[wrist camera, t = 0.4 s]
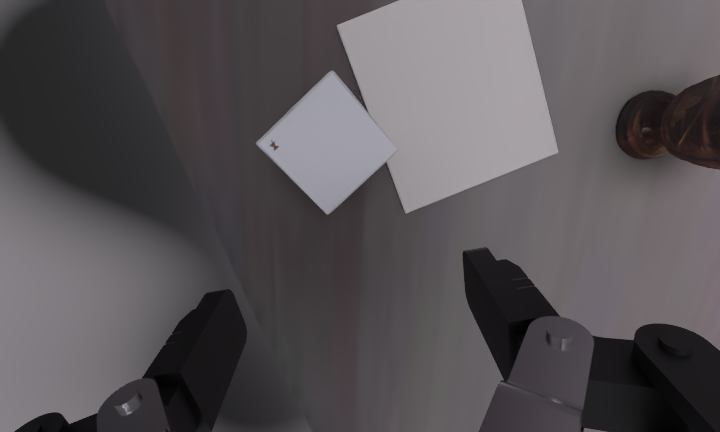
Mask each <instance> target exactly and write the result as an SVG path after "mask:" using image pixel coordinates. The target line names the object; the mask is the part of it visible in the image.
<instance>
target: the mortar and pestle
mask: <svg viewBox="0 0 720 432" xmlns="http://www.w3.org/2000/svg"><path fill="white" fill-rule="evenodd" d="M616 133H617V141H618V144H619V145H620V147H621V148H622V149H623V150H624V151H625V152H626V153H627V154H629V155H630V156H632V157H635V158H638V159H652V158H657V157H660V156H662V155H664V154H666V153H669V152H670V153H671V154H672V155H674V156H675V157H677V158H679V159H681V160H685V161H688V162H690V163H692V164H696V165H699V166H703V167H707V168H713V169H720V75H718V76H715V77H712V78H709V79H706V80H704V81H702V82H700V83H698V84H695V85H692V86H690V87H688V88H686V89H685V90H683V91H682V92H681V93H680V94H679V95H677V96H675V95H673V94H671V93H666V92H663V91H653V90H652V91H646V92H643V93H641V94H639V95H637V96H636V97H634V98H632V99H631V100H630V101H629V103H628V104H627V106H626V107H625V108H624V110H623V112H622V113H621V116H620V119H619V121H618V124H617V131H616Z"/></svg>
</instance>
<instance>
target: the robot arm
mask: <svg viewBox="0 0 720 432" xmlns="http://www.w3.org/2000/svg"><path fill="white" fill-rule="evenodd" d="M463 268H464V281H465V292H466V298H467V301H468V305H469V307H470V310H471V312H472V314H473V316H474V318H475V320H476V322H477V324H478V326H479V328H480V331H481V333H482V335H483V337H484V339H485V341H486V343H487V345H488V347H489V349H490V351H491V354H492V356H493V358H494V360H495V362H496V364H497V366H498V368H499V370H500V372H501V374H502V377H503V379H504V380H501V381H500V383H499V384H498V386H497V388H496V390H495V393H494V395H493V398H492V400H491V403H490V405H489V408H488V410H487V413H486V415H485V418H484V420H483V423H482V425H481V427H480V430H479V432H584V428H589V429H595V430H601V431H607V432H720V351H719V350H718V349H717V348H716V347H715V346H713V345H712V344H711V343H710V342H709V341H707V340H706V339H705V338H703V337H701V336H700V335H698V334H696V333H694V332H692V331H689V330H687V329H684V328H681V327H678V326H673V325H668V324H648V325H644V326H642V327H640V328H639V329H638V330H637V331H636V333H635V336H634V340H624V339H612V338H602V337H596V336H592V335H591V333H590V332H589V331H588V330H587V329H586V328H585V327H584V326H582V325H581V324H579V323H577V322H575V321H573V320H571V319H567V318H564V317H560V316H559V314H558V313H557V312H556V311H555V310H554V308H553V307H552V306H551V305H550V303H549V302H548V301H547V300H546V299H545V297H544V296H543V295H542V294H541V292H540V291H539V290H538V289H537V288H536V287H535V286H534V284H533V283H532V281H531V280H530V279H528V277H527V275H526V274H525V273H524V272H523V270H522V269H521V268H520V267H519V266H517V265H515V264H514V263H512V262H510V261H508V260H506V259H504V260H498V261H497V260H496V259H495V258H494V256H493V255H492V254H491V252H490V251H489V249H488V248H487V247H484V248H478V249H472V250H466V251H463ZM246 338H247V330H246V325H245V322H244V319H243V317H242V314H241V312H240V309H239V307H238V304H237V302H236V299H235V296H234V294H233V293H232V291H231V290H229V289H227V290H221V291H215V292H209V293H206V294H205V295H204V297H203V298H202V300H201V302H200V303H199V305H198V306H197V308H196V309H194V310H192V311H191V312H190V313H188V314H187V315H186V316H185V317H184V318H183V319H182V320H181V321H180V322H179V323H178V325H177V326H176V328H175V329H174V331H173V332H172V335H171V336H170V337H169V338H168V340H167V341H166V345H164V346H163V347H162V349H161V350H160V352H159V353H158V355H157V356H156V358H155V359H154V361H153V362H152V364H151V365H150V367H149V368H148V370H147V371H146V373H145V374H144V376H143V377H142V379H138V380H135V381H132V382H130V383H128V384H126V385H124V386H122V387H121V388H119V389H118V390H117V391H115V392H114V393H113V394H111V396H110V397H108V398H107V399H106V401H105V402H104V403H103V404H102V406H101V407H100V409H99V411H98V413H96V414H94V415H91V416H89V417H86V418H84V419H81V420H79V421H77V422H74V423H71V424H69V423H68V422H67V421H66V419H65V418H64V417H63V415H62V414H60V413H48V414H44V415H42V416H39V417H37V418H35V419H33V420H31V421H29V422H28V423H26V424H25V425H23V426H21V427H20V428H19V429H17V430H16V431H15V432H211V431H212V429H213V426H214V424H215V421H216V418H217V416H218V413H219V411H220V408H221V406H222V403H223V400H224V397H225V395H226V392H227V390H228V387H229V385H230V382H231V379H232V377H233V374H234V372H235V369H236V366H237V363H238V361H239V358H240V356H241V353H242V351H243V348H244V345H245V343H246Z"/></svg>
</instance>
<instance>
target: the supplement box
mask: <svg viewBox="0 0 720 432" xmlns="http://www.w3.org/2000/svg"><path fill="white" fill-rule="evenodd" d="M256 145H257V146H258V147H259V148H260V149H261V150H262V151H263V152H264V153H265V154H266V155H267V156H268V157H269V158H270V159H271V160H272V161H274V162H275V163H276V164H277V165H278V166H279V167H280V168H281V169H282V170H283V171H284V172H285V173H286V174H287V175H288V176H289V177H290V178H291V179H292V180H293V181H294V182H295V183H296V184H297V185H298V186H299V187H300V188H301V189H302V190H303V191H304V192H305V193H306V194H307V195H308V196H309V197H310V198H311V199H312V200H313V201H314V202H315V203H316V204H317V205H318V206H319V207H320V208H321V209H322V210H323V211H324V212H325V213H326V214H327V215H328V214H330V213H331V212H332V211H333V210H334V209H336V208H337V207H338V206H339V205H340V204H341V203H342V202H343V201H344V200H346V199H347V198H348V197H349V196H350V195H351V194H352V193H353V192H354V191H355V190H356V189H358V188H359V187H360V186H361V185H362V184H363V183H364V182H365V181H366V180H367V179H368V178H369V177H370V176H371V175H373V174H374V173H375V172H376V171H377V170H378V169H379V168H380V167H381V166H382V165H383V164H384V163H385V162H387V161H388V160H389V159H390V158H391V157H392V156H393V155H394V154H395V153H396V152H397V151H398V148H397V147H396V146H395V145H394V144H393V142H392V141H391V140H390V139H389V138H388V136H387V135H386V134H385V133H384V131H383V130H382V129H381V128H380V127H379V125H378V124H377V123H376V122H375V121H374V119H373V118H372V117H371V116H370V114H369V113H368V112H367V111H366V109H365V108H364V107H363V106H362V105H361V103H360V102H359V101H358V100H357V98H356V97H355V96H354V95H353V94H352V92H351V91H350V90H349V89H348V87H347V86H346V85H345V84H344V83H343V81H342V80H341V79H340V78H339V77H338V75H337V74H336V73H335V72H334V71H330V72H329V73H328V74H326V75H325V76H324V77H323V78H322V79H321V80H320V81H319V82H318V83H317V84H316V85H315V86H314V87H313V88H312V89H311V90H310V91H309V92H308V93H307V94H306V95H305V96H304V97H303V98H302V99H301V100H300V101H299V102H298V103H296V104H295V105H294V106H293V107H292V108H291V109H290V110H289V111H288V112H287V113H286V114H285V115H284V116H283V117H282V118H281V119H280V120H279V121H278V122H277V123H276V124H275V125H274V126H273V127H272V128H271V129H270V130H269V131H268V132H267V133H266V134H264V135H263V136H262V137H261V138H260V139H259V140H258V141H257V142H256Z"/></svg>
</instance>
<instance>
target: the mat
mask: <svg viewBox="0 0 720 432" xmlns="http://www.w3.org/2000/svg"><path fill="white" fill-rule="evenodd" d="M337 30H338V32H339V35H340V38H341V41H342V43H343V46H344V49H345V52H346V54H347V57H348V60H349V62H350V65H351V68H352V71H353V73H354V76H355V79H356V82H357V84H358V87H359V90H360V92H361V95H362V98H363V101H364V103H365V106H366V109H367V112H368V113H369V114H370V116H371V117H372V118H373V119H374V121H375V122H376V123H377V124H378V125H379V127H380V128H381V129H382V130H383V131H384V133H385V134H386V135H387V136H388V138H389V139H390V140H391V141H392V142H393V144H394V145H395V146H396V147H397V148H398V151H397V152H396V153H395V154H394V155H393V156H392V157H391V158H390V159H389V160H388V161H387V162H386V163H387V166H388V169H389V172H390V174H391V177H392V180H393V182H394V185H395V188H396V191H397V193H398V196H399V199H400V202H401V204H402V207H403V210H404V212H405V213H408V212H411V211H413V210H416V209H418V208H421V207H423V206H426V205H428V204H431V203H433V202H436V201H438V200H441V199H443V198H446V197H448V196H451V195H453V194H456V193H458V192H461V191H463V190H466V189H468V188H471V187H473V186H476V185H478V184H481V183H483V182H486V181H488V180H491V179H493V178H496V177H498V176H501V175H503V174H506V173H508V172H511V171H513V170H516V169H518V168H521V167H523V166H526V165H528V164H531V163H533V162H536V161H538V160H541V159H543V158H546V157H548V156H551V155H553V154H556V153H558V148H557V144H556V140H555V136H554V132H553V128H552V123H551V119H550V115H549V111H548V107H547V103H546V99H545V95H544V91H543V86H542V82H541V78H540V74H539V70H538V66H537V62H536V58H535V54H534V49H533V45H532V41H531V37H530V33H529V29H528V25H527V21H526V17H525V12H524V8H523V4H522V0H399V1H396V2H394V3H391V4H389V5H386V6H384V7H381V8H379V9H376V10H374V11H371V12H369V13H366V14H364V15H361V16H359V17H356V18H354V19H351V20H349V21H346V22H344V23H341V24H339V25H337Z"/></svg>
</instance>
